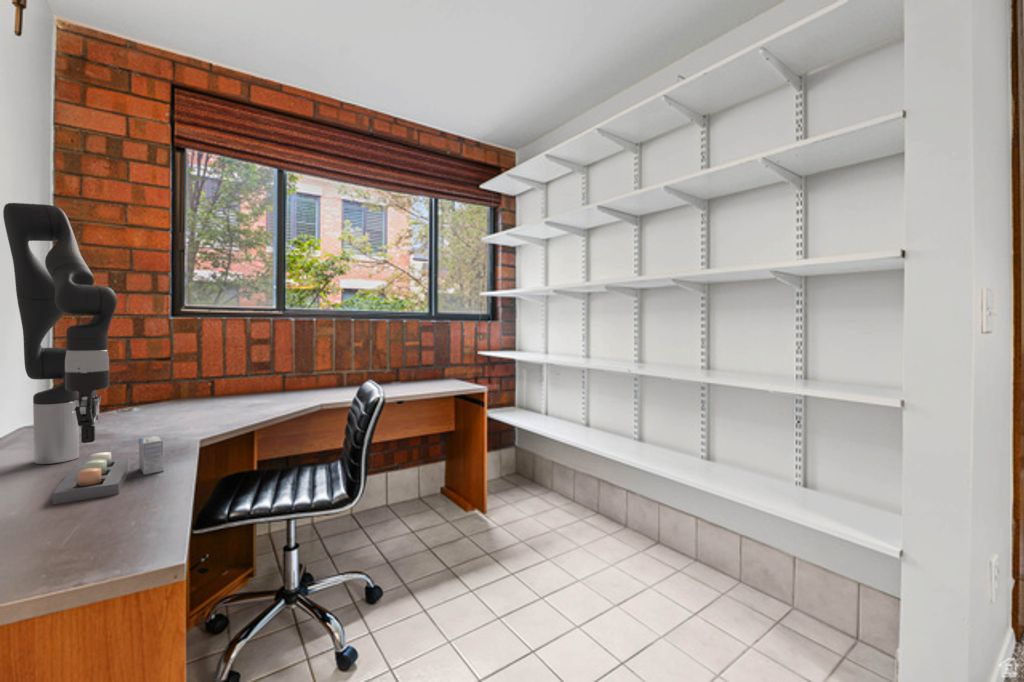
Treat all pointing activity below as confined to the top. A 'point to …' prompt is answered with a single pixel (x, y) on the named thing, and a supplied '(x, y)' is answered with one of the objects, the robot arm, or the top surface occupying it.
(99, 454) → the ivory button
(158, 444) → the medicine box
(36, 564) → the top surface
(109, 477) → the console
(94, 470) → the orange button
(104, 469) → the sage button
